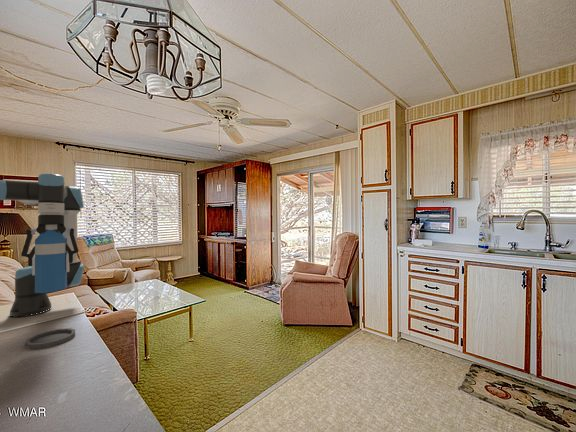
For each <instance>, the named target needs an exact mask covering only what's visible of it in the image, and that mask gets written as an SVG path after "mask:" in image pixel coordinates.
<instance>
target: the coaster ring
mask: <svg viewBox="0 0 576 432" xmlns="http://www.w3.org/2000/svg"><path fill="white" fill-rule="evenodd" d="M75 336H76V329H74V328H70V327H68V328H58V329H53V330H52V329H51V330H48V331H44V332H41V333H37V334H35V335H32V336H31V337H29V338H27V339H26V340H25V342H24V347H25V348H26V349H29V350H30V349H31V350H39V349H47V348H51V347H55V346H58V345H61V344H64V343H66V342H68V341H70V340H72V339H74V338H75Z"/></svg>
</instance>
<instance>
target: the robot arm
mask: <svg viewBox="0 0 576 432" xmlns="http://www.w3.org/2000/svg"><path fill="white" fill-rule="evenodd" d="M37 179H38V181H22V180H21V181H20V180H7V179H6V180H5V179H0V201H16V202H20V203H22V204H24V205H26V206H27V205H28V206H33V207H37V208H38V210H37V213H38V214H39V215H37V219H38V220H37V227H36V228H33V229H30V228H29V229H26V230H25V232H26V239H25V241H24V244H23V247H22V251H21V253H20V255H21V257H25V258H28V260H27V263H28V266H25V267H21V268H19V269H17V270H15V276H14V293H15V295H14V301H13V303H12V305H11V308H10V310H9V316H13V317H12V318H19V317H18V316H24V317H27V316H26V315H31V314H36V313H40V312H43V311H46V310H48V309H50V308H51V307H53V306H52V302H51V300H50V298H49V296H48V293H35V245H34V246H33V247H32V249H31V250H30V252H29V249H30V246H31V243H32V240H33V236H35V234H36V232H37V233H38V234H39V235H40V234H41V233H45V232H46V231H47V230H46V225H57V230H56V229H55V230H54V231H56V232H57V233H59V232H60V233H61V234H63V235H64V236H65V237H66V238H67V243H66V251H67V255H66V272H67V288H71V287H75V286H79V285H81V283H82V279H83V272H84V266H85V264H84V263H83V262H81V259H80V258H78V253H79V246H78V214H79V213H80V212H81V209H83V208H85V207H84V199H83V194H82V190H81V188H80V187H78V186H73V185H72V186H71V185H65V184H66V182H65V177H64V176H63V175H61V174H56V173H40V174H38V178H37ZM58 231H59V232H58ZM28 252H29V253H28ZM51 309H52V308H51ZM46 312H47V311H46ZM43 313H44V312H43ZM40 314H41V313H40ZM36 315H37V314H36ZM31 316H32V315H31Z"/></svg>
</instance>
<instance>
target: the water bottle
mask: <svg viewBox="0 0 576 432" xmlns="http://www.w3.org/2000/svg"><path fill="white" fill-rule="evenodd" d="M55 229H56V230H57V225H46V230H47V231H46V232H45V233H41V234H39V235H38V236H37V237H36V238H35V239H34V246H35V254H34V257H35V293H47V294H49V293H55V292H59V291H64V290H66V289H67V288H68V287H67V272H66V255H67V251H66V243H67V238H66V237H65V236H64V235H63V234H61V233H60V232H59V231H58V232H59V233H57V232H56V231H54V230H55Z"/></svg>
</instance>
